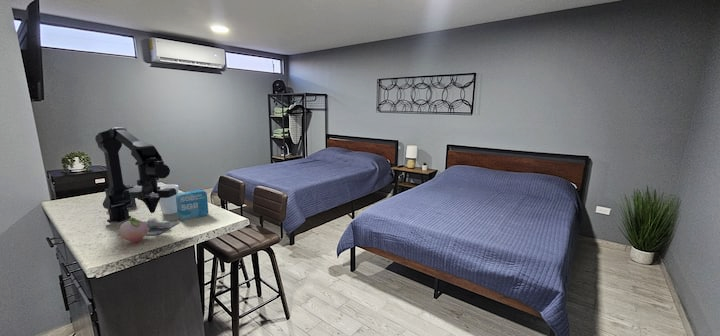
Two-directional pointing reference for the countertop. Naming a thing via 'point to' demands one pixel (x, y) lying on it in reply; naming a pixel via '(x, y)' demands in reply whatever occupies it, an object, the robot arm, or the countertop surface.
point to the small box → (133, 202)
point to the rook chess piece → (157, 223)
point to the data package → (192, 204)
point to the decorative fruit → (133, 230)
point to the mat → (159, 229)
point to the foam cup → (169, 200)
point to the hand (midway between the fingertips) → (152, 212)
